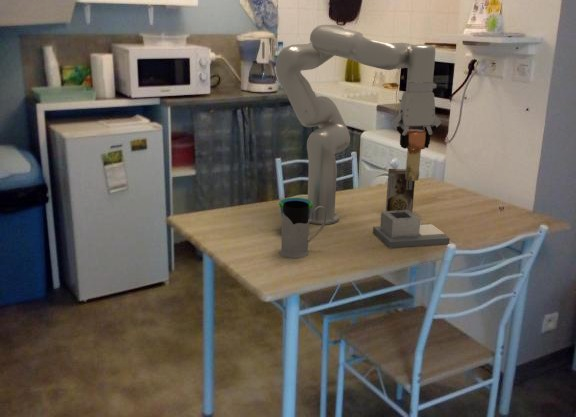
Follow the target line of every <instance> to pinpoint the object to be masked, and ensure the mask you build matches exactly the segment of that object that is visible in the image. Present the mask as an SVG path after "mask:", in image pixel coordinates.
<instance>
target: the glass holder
mask: <svg viewBox="0 0 576 417" xmlns="http://www.w3.org/2000/svg"><path fill="white" fill-rule="evenodd" d="M318 208H324V207H322V206H318V207H316V208H315V209H314V211H313V214H312V219H311V220H308V217H309V204H308V203H306V202H303V201H287V202H285V203H283V213H282V215H281V246H280V250H279V254H280V255H281V256H283V257H284V258H285V257H286V258H288V259H301V258H306V257H307V256H309V255H310V252H309V244H310V242H311V241H312V240H313V239H315V237H316V236H317V235H318V234H319V233H321V231H322V230H323V228H324V227H325V225H326V224H325V222H326V217H327V211H326V209H325V208H324V210H325V219H324V222H323V224H321V226H320V228H318V230H317V231H316V232H315V233H314V234H313V235H312V236H311V237H310V238H309V231H310V230H309V226H310V223H309V222H310V221H312V220H313V219H314V213H315V211H316V210H317V209H318Z"/></svg>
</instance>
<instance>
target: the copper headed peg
mask: <svg viewBox="0 0 576 417" xmlns="http://www.w3.org/2000/svg"><path fill="white" fill-rule="evenodd" d="M406 135H407V136H408V139H407V148H406V149H407V150H406V151H407V152H406V161H405V162H406V165H405V169H406V175H405V179H406V180H409V181H415V182H416V181H419V179H420V167H421V166H420V164H421V155H422V154H421V152H422V150H425V149H426V148H425V143H426V131H424V129H416V128H415V129H413V128H409V129H408V131H407V133H406Z"/></svg>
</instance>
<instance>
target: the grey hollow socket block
mask: <svg viewBox="0 0 576 417" xmlns="http://www.w3.org/2000/svg"><path fill="white" fill-rule="evenodd" d="M380 212H381V213H380V224H379V225H380V229H381V230H382V231H383V232H384V233H385V234H386V235H388V236H389V237H390V238H391V239H398V238H414V237H419V230H420V224H421V218H420V217H419V216H417V215H416V214H414V213H413V211H412V212H410V211H409V210H397V211H386V210H385V211H384V210H382V211H380Z"/></svg>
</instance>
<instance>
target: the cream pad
mask: <svg viewBox="0 0 576 417" xmlns="http://www.w3.org/2000/svg"><path fill="white" fill-rule="evenodd" d="M427 224H428V223H427ZM419 235H420V236H421V237H427V236H443V235H446V234H445V233H444V232H443V231H442V230H440V229H439V228H437V227H436V226H435V225H433V224H432V223H430V224H428V225H420V230H419Z"/></svg>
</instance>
